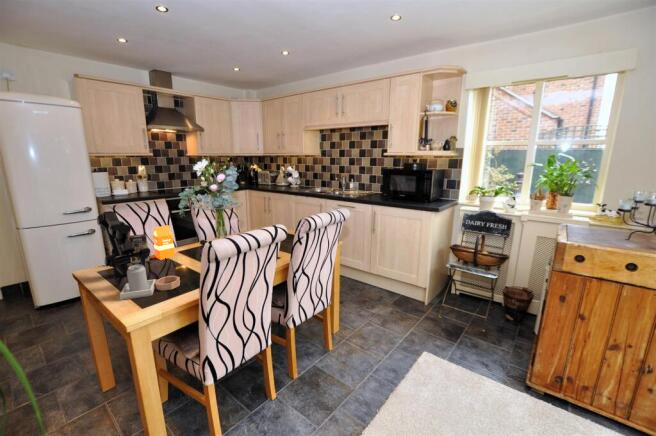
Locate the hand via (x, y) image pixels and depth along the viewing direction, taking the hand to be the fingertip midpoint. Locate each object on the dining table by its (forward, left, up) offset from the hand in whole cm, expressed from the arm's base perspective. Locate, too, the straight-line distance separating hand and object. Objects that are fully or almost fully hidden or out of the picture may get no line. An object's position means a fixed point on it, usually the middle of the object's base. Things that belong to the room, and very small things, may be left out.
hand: (133, 271), depth 147 cm
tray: (+2, -5, -9) cm, 11 cm away
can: (+2, -4, -8) cm, 10 cm away
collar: (+14, -2, -9) cm, 17 cm away
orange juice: (+7, +47, -10) cm, 49 cm away
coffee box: (-6, +44, -9) cm, 46 cm away
